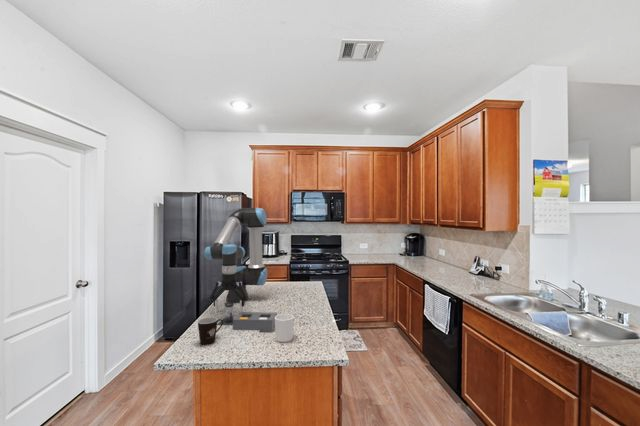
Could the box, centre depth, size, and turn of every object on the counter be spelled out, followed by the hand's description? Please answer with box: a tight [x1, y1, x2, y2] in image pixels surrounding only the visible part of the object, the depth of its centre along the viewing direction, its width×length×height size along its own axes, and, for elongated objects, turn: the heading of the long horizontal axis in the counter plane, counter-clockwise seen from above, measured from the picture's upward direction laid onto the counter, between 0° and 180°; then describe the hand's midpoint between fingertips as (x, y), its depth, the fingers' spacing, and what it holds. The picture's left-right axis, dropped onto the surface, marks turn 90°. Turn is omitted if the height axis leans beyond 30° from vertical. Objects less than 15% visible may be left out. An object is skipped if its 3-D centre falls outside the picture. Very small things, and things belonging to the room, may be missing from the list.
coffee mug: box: [197, 316, 224, 346], centre depth 134 cm, size 12×9×10 cm
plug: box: [224, 301, 235, 323], centre depth 157 cm, size 5×5×10 cm
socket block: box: [232, 311, 278, 333], centre depth 151 cm, size 12×20×6 cm, turn 87°
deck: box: [217, 318, 233, 326], centre depth 157 cm, size 10×10×1 cm
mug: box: [274, 313, 295, 344], centre depth 137 cm, size 11×9×10 cm
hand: (228, 312), depth 157 cm, fingers open, 13 cm apart
